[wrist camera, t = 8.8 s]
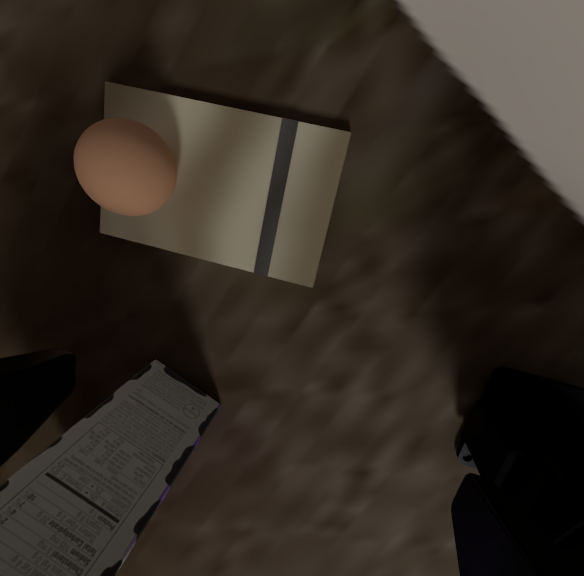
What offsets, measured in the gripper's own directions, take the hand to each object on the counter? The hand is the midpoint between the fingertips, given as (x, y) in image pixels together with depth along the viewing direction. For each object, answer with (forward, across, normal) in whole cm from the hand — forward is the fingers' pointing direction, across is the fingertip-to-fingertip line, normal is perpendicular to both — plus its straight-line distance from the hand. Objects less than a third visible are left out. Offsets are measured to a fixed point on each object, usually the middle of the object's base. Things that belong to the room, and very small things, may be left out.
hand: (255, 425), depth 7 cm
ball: (+11, +10, -4) cm, 16 cm away
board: (+12, +6, -4) cm, 14 cm away
